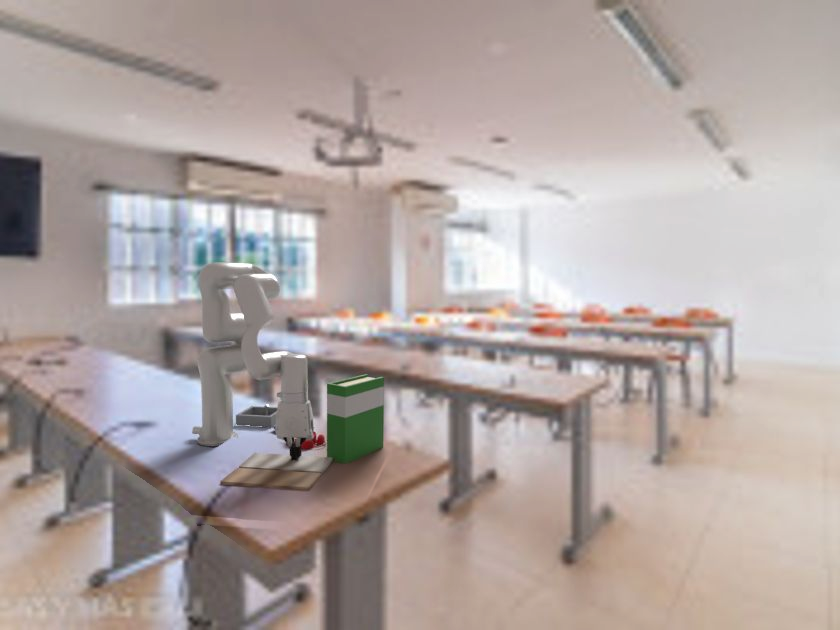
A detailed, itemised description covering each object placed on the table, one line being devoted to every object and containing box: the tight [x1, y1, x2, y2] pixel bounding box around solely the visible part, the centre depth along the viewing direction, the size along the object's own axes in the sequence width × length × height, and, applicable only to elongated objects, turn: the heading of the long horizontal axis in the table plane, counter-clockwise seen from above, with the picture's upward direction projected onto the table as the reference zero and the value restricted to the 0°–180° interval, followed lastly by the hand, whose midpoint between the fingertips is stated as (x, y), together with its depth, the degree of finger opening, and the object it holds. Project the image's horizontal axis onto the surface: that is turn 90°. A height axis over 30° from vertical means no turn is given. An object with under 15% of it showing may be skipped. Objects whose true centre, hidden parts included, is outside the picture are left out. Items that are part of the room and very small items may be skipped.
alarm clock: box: [286, 430, 327, 451], centre depth 158 cm, size 10×6×15 cm
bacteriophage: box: [263, 404, 272, 416], centre depth 184 cm, size 7×8×7 cm
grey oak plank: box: [238, 452, 334, 475], centre depth 139 cm, size 24×10×2 cm, turn 83°
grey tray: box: [235, 405, 278, 428], centre depth 184 cm, size 14×13×4 cm
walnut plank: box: [220, 467, 321, 491], centre depth 129 cm, size 24×9×2 cm, turn 83°
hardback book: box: [326, 373, 385, 465], centre depth 149 cm, size 18×7×24 cm, turn 145°
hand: (295, 458), depth 142 cm, fingers closed
